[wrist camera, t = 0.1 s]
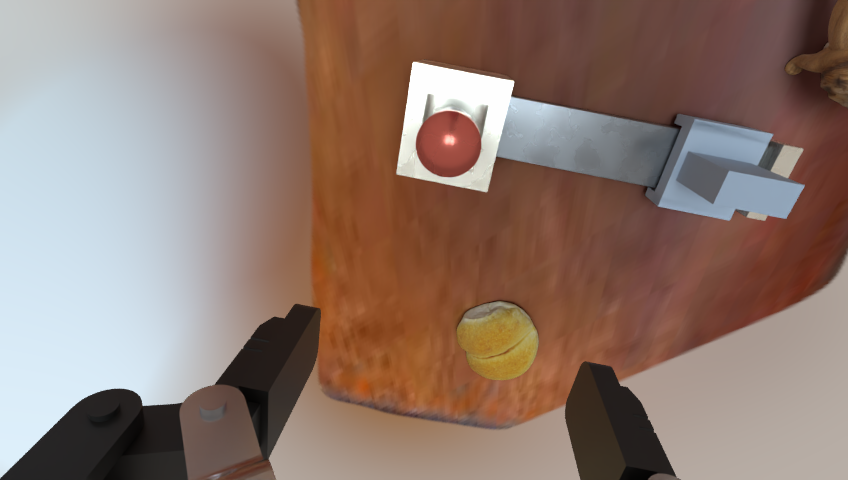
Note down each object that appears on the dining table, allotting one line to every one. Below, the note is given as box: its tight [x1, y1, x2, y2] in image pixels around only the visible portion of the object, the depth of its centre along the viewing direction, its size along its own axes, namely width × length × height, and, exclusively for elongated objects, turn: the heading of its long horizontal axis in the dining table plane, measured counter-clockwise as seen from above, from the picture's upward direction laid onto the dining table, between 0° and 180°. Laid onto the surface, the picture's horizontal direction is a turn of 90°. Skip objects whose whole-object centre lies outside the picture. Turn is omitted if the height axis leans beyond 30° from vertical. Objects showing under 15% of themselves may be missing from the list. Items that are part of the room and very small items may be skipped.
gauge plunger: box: [416, 107, 481, 177], centre depth 29 cm, size 4×4×6 cm
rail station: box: [396, 59, 803, 221], centre depth 35 cm, size 8×30×8 cm, turn 80°
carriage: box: [645, 114, 805, 221], centre depth 33 cm, size 7×6×9 cm
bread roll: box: [457, 301, 539, 380], centre depth 46 cm, size 8×9×4 cm
